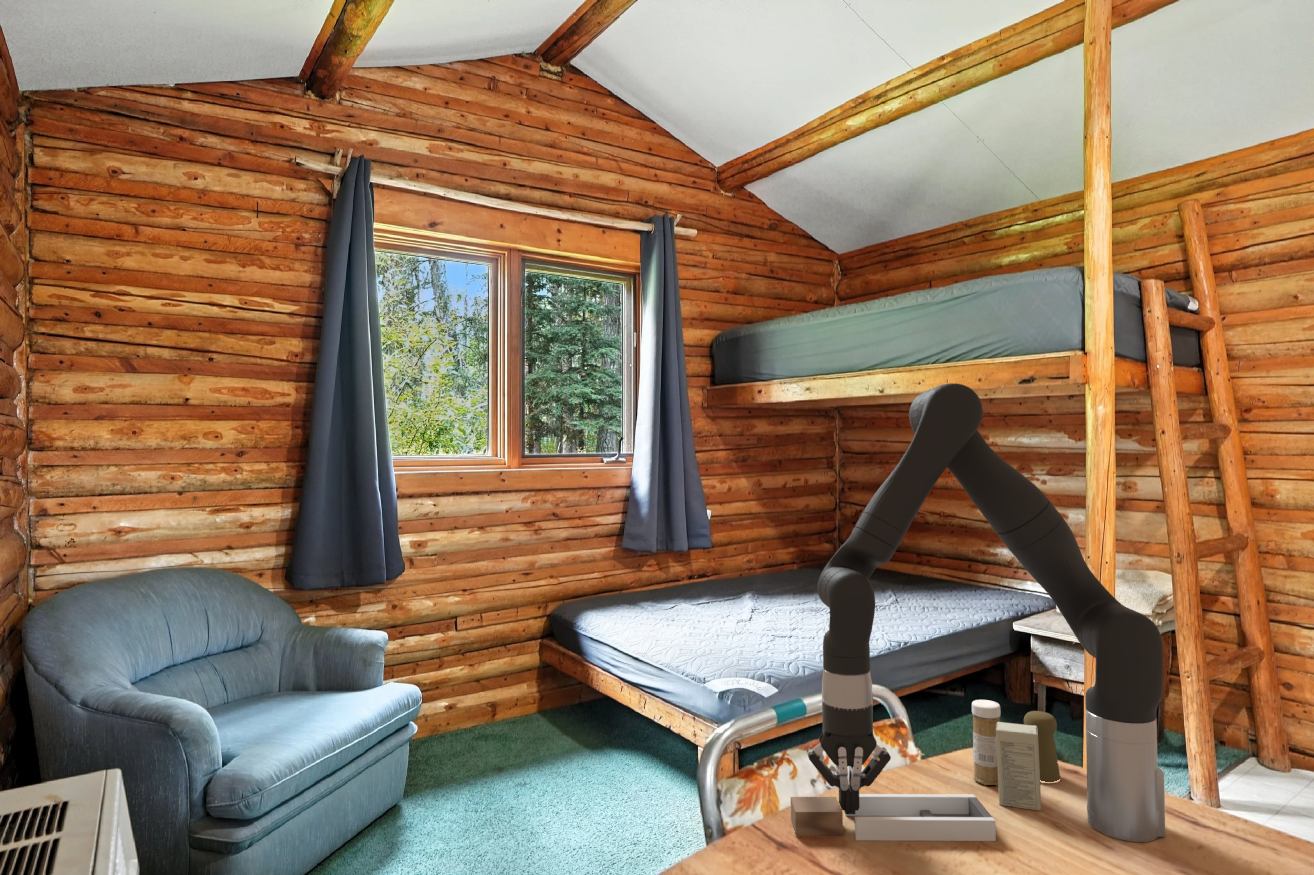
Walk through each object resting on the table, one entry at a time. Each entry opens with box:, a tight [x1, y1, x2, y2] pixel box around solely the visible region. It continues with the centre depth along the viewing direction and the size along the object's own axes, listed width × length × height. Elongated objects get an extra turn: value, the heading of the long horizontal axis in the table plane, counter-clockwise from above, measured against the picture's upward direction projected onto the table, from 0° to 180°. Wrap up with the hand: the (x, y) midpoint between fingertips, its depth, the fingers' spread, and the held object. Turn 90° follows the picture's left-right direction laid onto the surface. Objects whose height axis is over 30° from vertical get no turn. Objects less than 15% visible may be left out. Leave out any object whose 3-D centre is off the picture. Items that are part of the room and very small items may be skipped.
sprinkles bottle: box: [971, 699, 1002, 786], centre depth 134 cm, size 5×5×14 cm
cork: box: [1023, 710, 1061, 782], centre depth 136 cm, size 6×6×11 cm
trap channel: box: [844, 793, 997, 842], centre depth 119 cm, size 20×8×3 cm, turn 88°
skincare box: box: [996, 721, 1042, 811], centre depth 126 cm, size 6×4×12 cm
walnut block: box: [790, 796, 844, 838], centre depth 118 cm, size 7×5×4 cm
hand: (849, 811), depth 119 cm, fingers closed
